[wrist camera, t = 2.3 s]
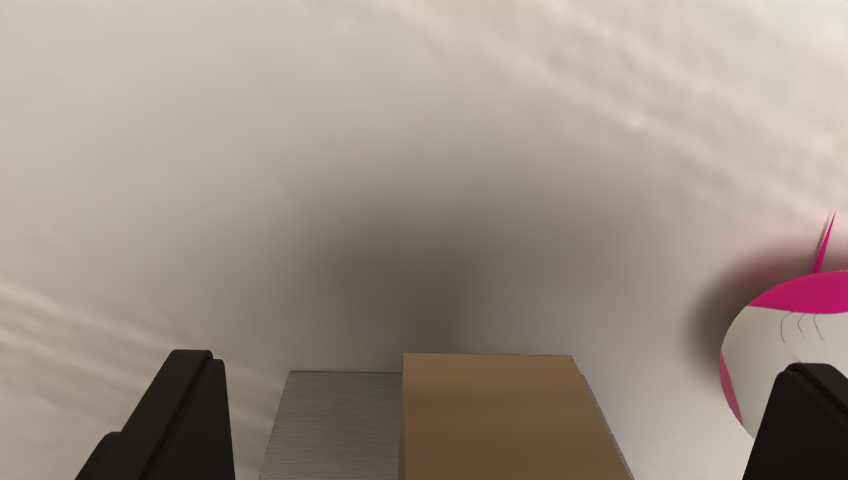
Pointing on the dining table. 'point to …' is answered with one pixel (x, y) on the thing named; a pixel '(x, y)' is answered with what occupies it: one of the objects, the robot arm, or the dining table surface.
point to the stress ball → (784, 338)
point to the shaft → (501, 420)
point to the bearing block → (343, 428)
